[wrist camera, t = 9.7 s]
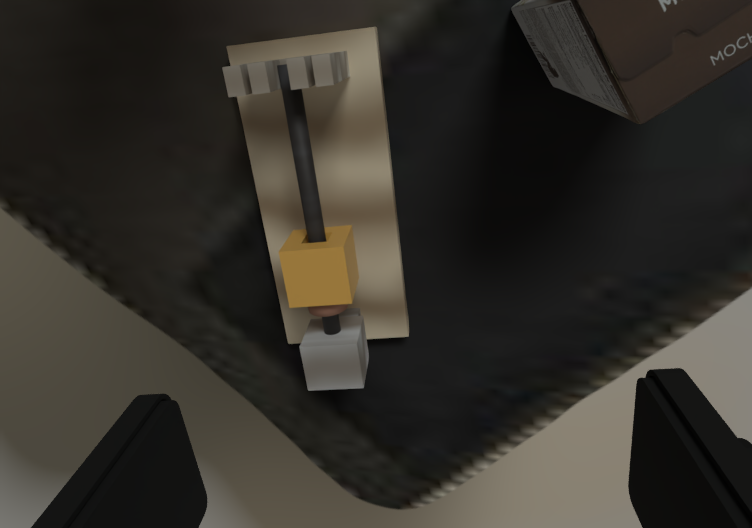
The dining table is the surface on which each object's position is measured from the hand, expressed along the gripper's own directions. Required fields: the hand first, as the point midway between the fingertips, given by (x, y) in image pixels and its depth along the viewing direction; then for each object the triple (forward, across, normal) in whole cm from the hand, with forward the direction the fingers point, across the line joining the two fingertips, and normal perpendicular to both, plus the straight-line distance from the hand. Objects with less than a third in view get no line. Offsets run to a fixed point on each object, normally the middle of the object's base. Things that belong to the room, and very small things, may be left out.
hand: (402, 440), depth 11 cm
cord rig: (+30, +7, +3) cm, 31 cm away
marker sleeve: (+26, +7, +6) cm, 28 cm away
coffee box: (+31, -12, -8) cm, 34 cm away
